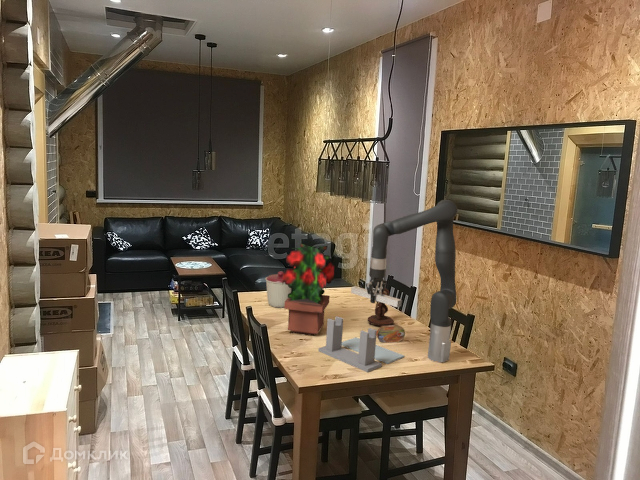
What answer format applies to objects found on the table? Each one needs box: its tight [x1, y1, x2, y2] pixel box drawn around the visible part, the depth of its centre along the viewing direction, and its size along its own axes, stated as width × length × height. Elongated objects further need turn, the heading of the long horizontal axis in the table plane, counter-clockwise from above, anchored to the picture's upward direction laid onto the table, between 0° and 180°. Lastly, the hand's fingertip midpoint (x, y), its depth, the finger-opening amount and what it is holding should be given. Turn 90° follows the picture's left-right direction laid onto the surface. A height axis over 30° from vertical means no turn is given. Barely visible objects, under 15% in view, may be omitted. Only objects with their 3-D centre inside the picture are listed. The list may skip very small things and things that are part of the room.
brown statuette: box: [367, 287, 395, 327], centre depth 289 cm, size 15×15×20 cm
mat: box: [341, 336, 405, 365], centre depth 250 cm, size 30×13×1 cm, turn 46°
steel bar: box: [350, 285, 403, 308], centre depth 246 cm, size 28×3×3 cm, turn 46°
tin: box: [376, 324, 406, 344], centre depth 264 cm, size 15×3×8 cm, turn 105°
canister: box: [265, 271, 291, 308], centre depth 312 cm, size 18×18×21 cm
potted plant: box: [282, 243, 335, 337], centre depth 269 cm, size 22×22×45 cm
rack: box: [318, 315, 383, 373], centre depth 238 cm, size 30×10×16 cm, turn 46°
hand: (375, 302), depth 246 cm, fingers closed on steel bar, 3 cm apart
